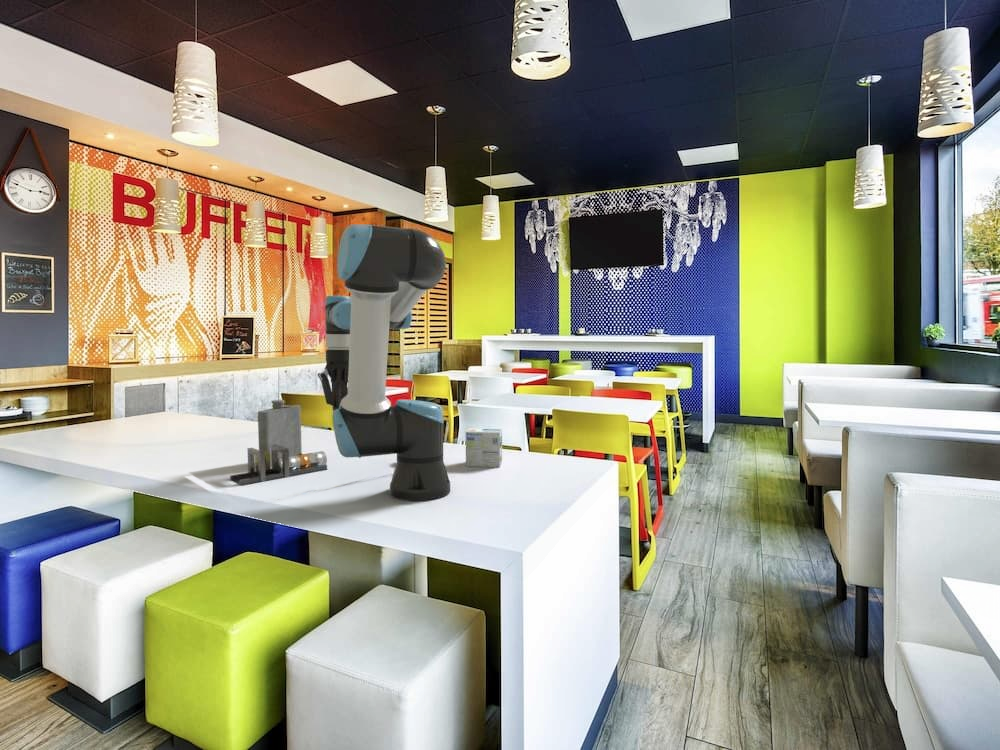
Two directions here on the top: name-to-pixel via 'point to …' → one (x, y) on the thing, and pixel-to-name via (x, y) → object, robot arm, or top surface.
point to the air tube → (303, 461)
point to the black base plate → (272, 475)
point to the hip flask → (280, 428)
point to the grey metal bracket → (261, 461)
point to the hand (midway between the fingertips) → (340, 427)
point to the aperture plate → (267, 461)
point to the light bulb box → (484, 447)
